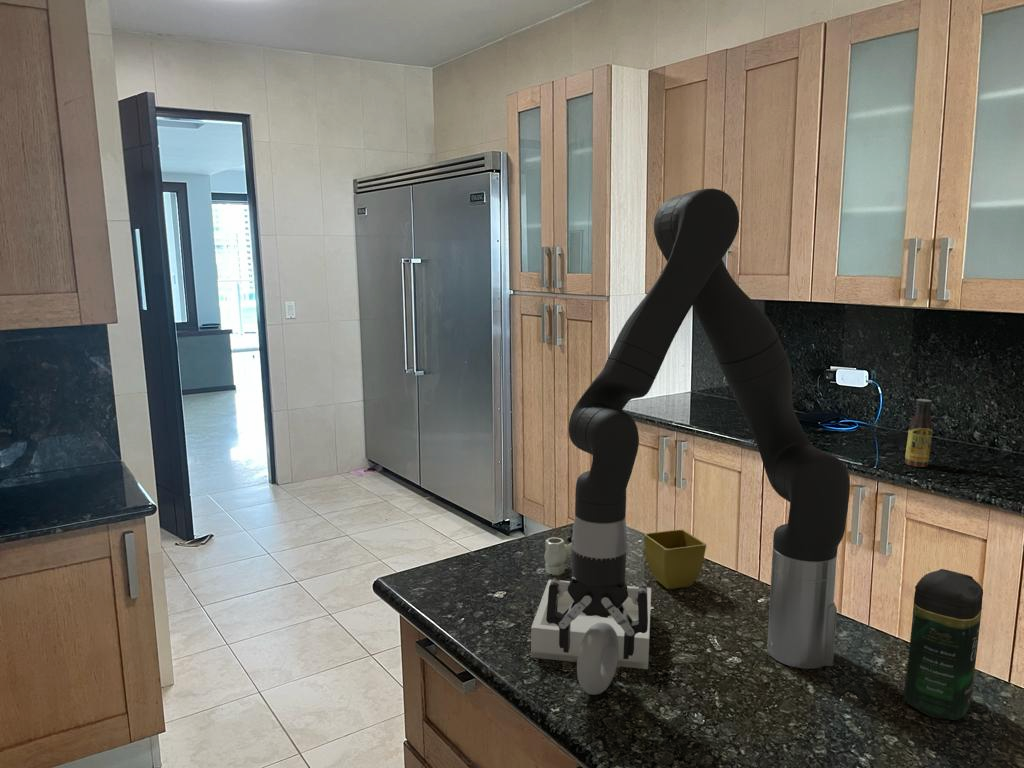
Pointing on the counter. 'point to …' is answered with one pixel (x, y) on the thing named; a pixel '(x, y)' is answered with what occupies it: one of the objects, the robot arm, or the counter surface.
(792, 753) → the counter surface
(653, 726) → the counter surface
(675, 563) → the flower pot
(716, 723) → the counter surface
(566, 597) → the tray
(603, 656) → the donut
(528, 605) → the counter surface
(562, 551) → the valve
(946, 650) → the coffee jar
